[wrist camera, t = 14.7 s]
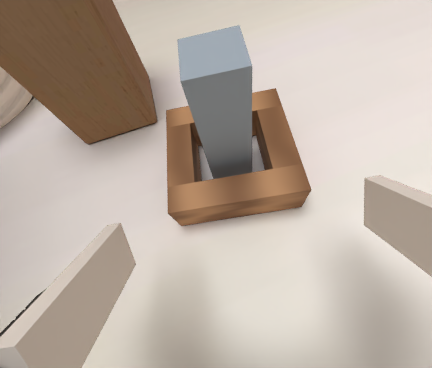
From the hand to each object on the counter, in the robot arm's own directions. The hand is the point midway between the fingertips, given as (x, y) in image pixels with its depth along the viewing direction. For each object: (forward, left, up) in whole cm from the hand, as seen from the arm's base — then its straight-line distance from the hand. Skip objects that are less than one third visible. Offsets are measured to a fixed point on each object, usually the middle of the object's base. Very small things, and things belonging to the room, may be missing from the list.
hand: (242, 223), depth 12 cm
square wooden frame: (-8, +5, -9) cm, 13 cm away
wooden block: (-26, -1, -10) cm, 28 cm away
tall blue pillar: (-8, +5, -9) cm, 13 cm away
